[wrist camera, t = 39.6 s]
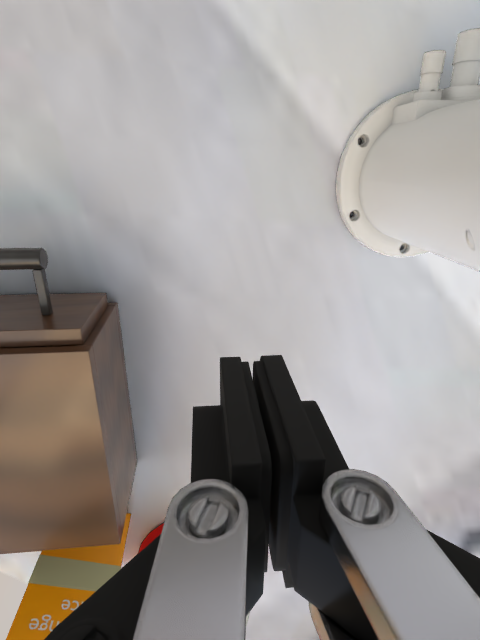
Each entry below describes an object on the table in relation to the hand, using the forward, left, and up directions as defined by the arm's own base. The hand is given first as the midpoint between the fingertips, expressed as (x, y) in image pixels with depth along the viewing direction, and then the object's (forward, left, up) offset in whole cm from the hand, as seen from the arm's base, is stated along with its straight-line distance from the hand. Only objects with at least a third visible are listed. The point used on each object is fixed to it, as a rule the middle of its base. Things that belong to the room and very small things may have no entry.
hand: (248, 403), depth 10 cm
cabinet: (+14, -15, -23) cm, 31 cm away
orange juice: (+33, -15, -23) cm, 43 cm away
